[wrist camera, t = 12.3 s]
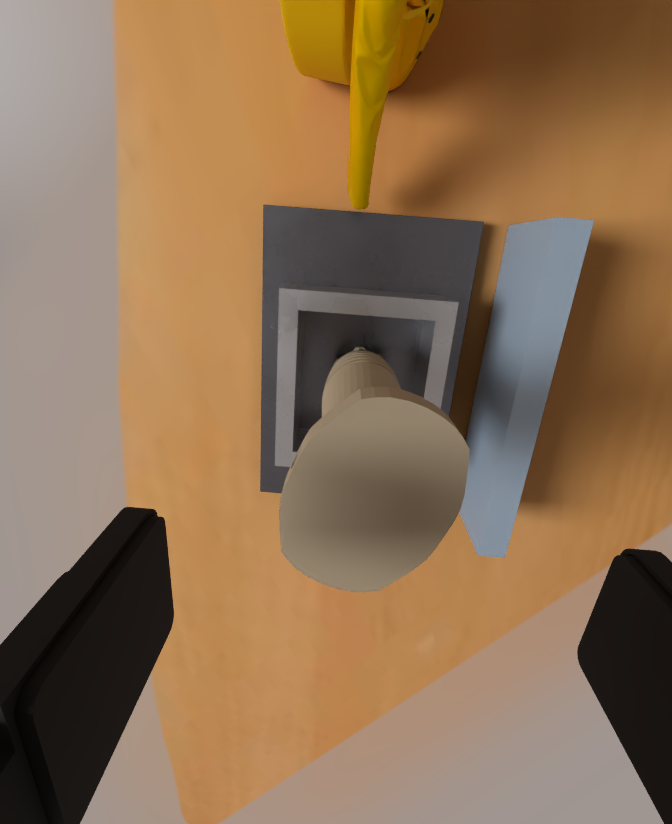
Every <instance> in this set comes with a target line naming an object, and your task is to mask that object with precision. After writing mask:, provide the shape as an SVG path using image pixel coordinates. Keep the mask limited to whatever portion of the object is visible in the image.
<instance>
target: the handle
mask: <svg viewBox="0 0 672 824" xmlns="http://www.w3.org/2000/svg"><path fill="white" fill-rule="evenodd" d="M469 453H470V449H469V447H468V445H467V444H466V442H465V440H464V438H463V436H462V435H461V433H460V432H459V430H458V429H457V427H456V426H455V425H454V423H453V422H452V421H451V419H450V418H449V417H448V416H447V415H446V414H445V413H444V412H443V411H442V410H440V409H439V408H438V407H437V406H436V405H434V404H433V403H431V402H429V401H428V400H426V399H424V398H422V397H421V396H418V395H416V394H413V393H411V392H408V391H405V390H402V389H401V388H400V385H399V382H398V380H397V377H396V375H395V373H394V372H393V370H392V368H391V367H390V366H389V364H388V363H387V362H386V361H385V360H384V358H383V357H382V356H381V355H379V354H375V353H373V352H370V351H367V350H366V349H365V348H364V347H363V346H358V347H355V349H354V350H353V351H351V352H349V353H347V354H345V355H343V356H342V357H339V358H338V359H337V360H336V361H335V363H334V364H333V367H332V369H331V371H330V373H329V375H328V378H327V380H326V383H325V387H324V391H323V396H322V418H321V419H320V420H319V421H318V422H316V423H315V424H314V425H313V426H312V427H311V428H310V430H309V431H308V433H307V434H306V436H305V438H304V440H303V442H302V444H301V446H300V447H299V449H298V452H297V454H296V456H295V458H294V460H293V462H292V464H291V467H290V469H289V471H288V474H287V476H286V479H285V483H284V487H283V491H282V495H281V499H280V510H279V520H280V538H281V552H282V553H283V554H284V556H285V557H286V558H287V560H288V561H289V562H290V563H291V564H292V565H293V566H294V567H295V568H296V569H297V570H299V571H300V572H302V573H303V574H305V575H306V576H308V577H309V578H311V579H314V580H316V581H318V582H320V583H322V584H324V585H327V586H330V587H333V588H336V589H340V590H346V591H351V592H372V591H379V590H381V589H382V588H384V587H386V586H388V585H389V584H391V583H393V582H394V581H396V580H398V579H399V578H401V577H403V576H404V575H406V574H407V573H409V572H411V571H412V570H414V569H415V568H416V567H418V566H419V565H420V564H421V563H423V562H424V561H425V560H426V559H427V558H428V557H429V556H430V555H431V554H432V552H433V551H434V550H435V549H436V547H437V546H438V544H439V543H440V542H441V540H442V539H443V537H444V536H445V534H446V533H447V531H448V530H449V528H450V527H451V525H452V524H453V522H454V520H455V519H456V517H457V515H458V513H459V511H460V509H461V506H462V502H463V499H464V495H465V489H466V481H467V473H468V463H469Z"/></svg>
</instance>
